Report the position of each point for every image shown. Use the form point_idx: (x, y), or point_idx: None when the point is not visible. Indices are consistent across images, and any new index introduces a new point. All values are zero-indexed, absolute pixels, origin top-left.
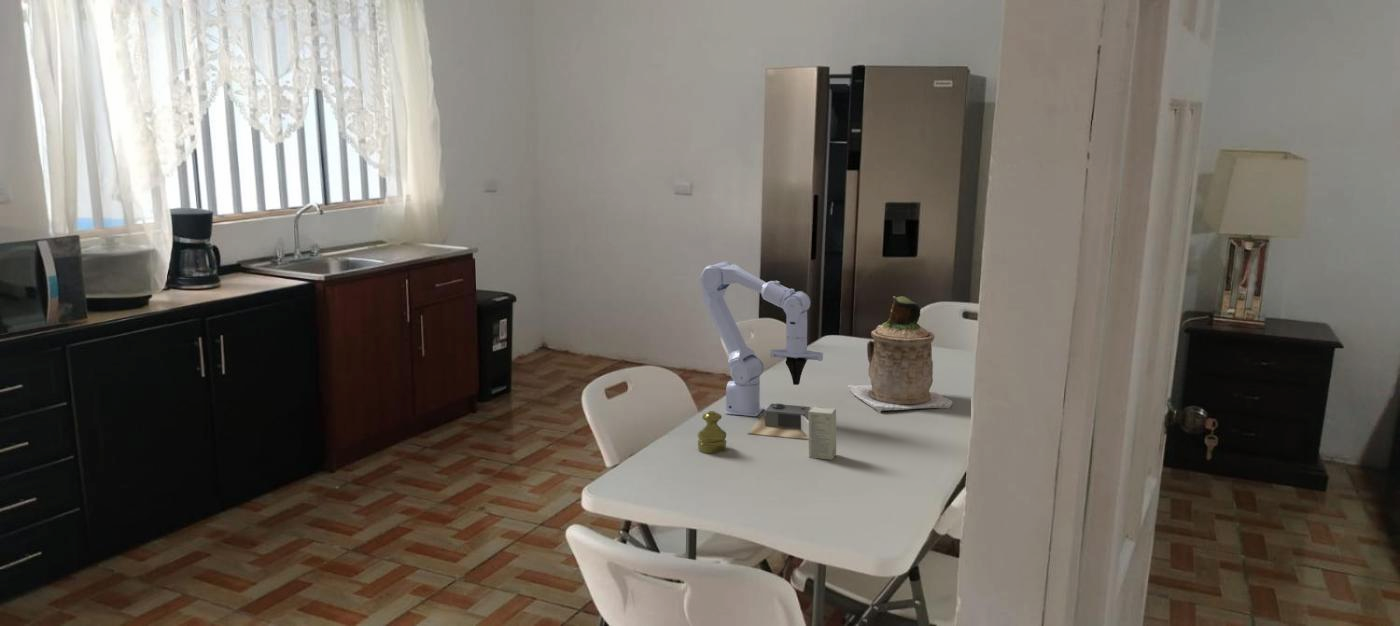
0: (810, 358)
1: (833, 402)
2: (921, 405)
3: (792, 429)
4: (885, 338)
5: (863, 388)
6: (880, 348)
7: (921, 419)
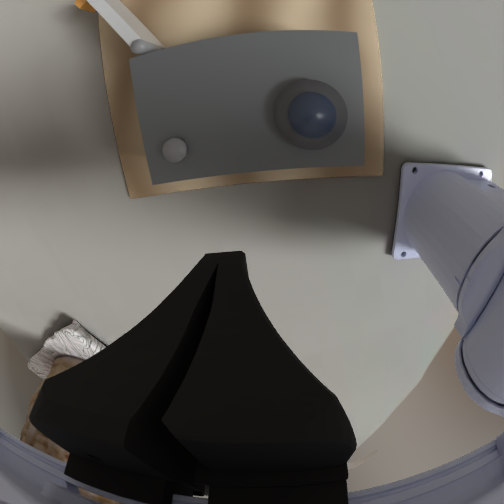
0: (39, 461)
1: None
2: (41, 353)
3: None
4: None
5: None
6: None
7: (10, 300)
